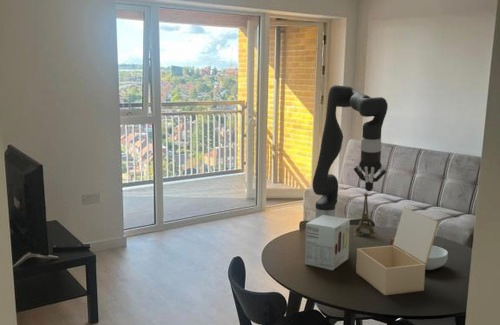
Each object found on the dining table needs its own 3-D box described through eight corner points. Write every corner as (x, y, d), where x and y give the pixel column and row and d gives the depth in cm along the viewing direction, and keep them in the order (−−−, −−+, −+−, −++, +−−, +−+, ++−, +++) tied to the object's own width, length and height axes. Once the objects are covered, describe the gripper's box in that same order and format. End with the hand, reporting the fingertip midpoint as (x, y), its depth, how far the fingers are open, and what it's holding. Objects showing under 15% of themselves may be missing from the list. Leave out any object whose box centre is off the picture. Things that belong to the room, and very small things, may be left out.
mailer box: (384, 295, 171) (385, 268, 170) (356, 272, 192) (357, 248, 191) (423, 290, 175) (425, 264, 174) (391, 268, 196) (392, 245, 195)
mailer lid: (437, 221, 172) (439, 222, 172) (403, 207, 193) (404, 207, 193) (425, 263, 173) (426, 263, 174) (392, 244, 195) (393, 244, 195)
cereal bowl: (413, 256, 210) (414, 241, 209) (452, 265, 200) (453, 249, 199) (397, 267, 197) (398, 251, 196) (438, 277, 187) (440, 260, 186)
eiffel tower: (375, 237, 237) (377, 188, 234) (353, 236, 240) (355, 187, 236) (375, 231, 248) (377, 184, 244) (354, 230, 250) (355, 183, 246)
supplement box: (333, 271, 194) (335, 228, 191) (304, 264, 201) (305, 223, 198) (349, 258, 208) (350, 218, 205) (321, 252, 215) (322, 214, 212)
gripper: (352, 150, 184) (350, 192, 190) (387, 152, 179) (384, 195, 185) (355, 145, 191) (354, 185, 196) (389, 147, 186) (387, 189, 191)
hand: (369, 190), depth 190 cm, fingers closed
